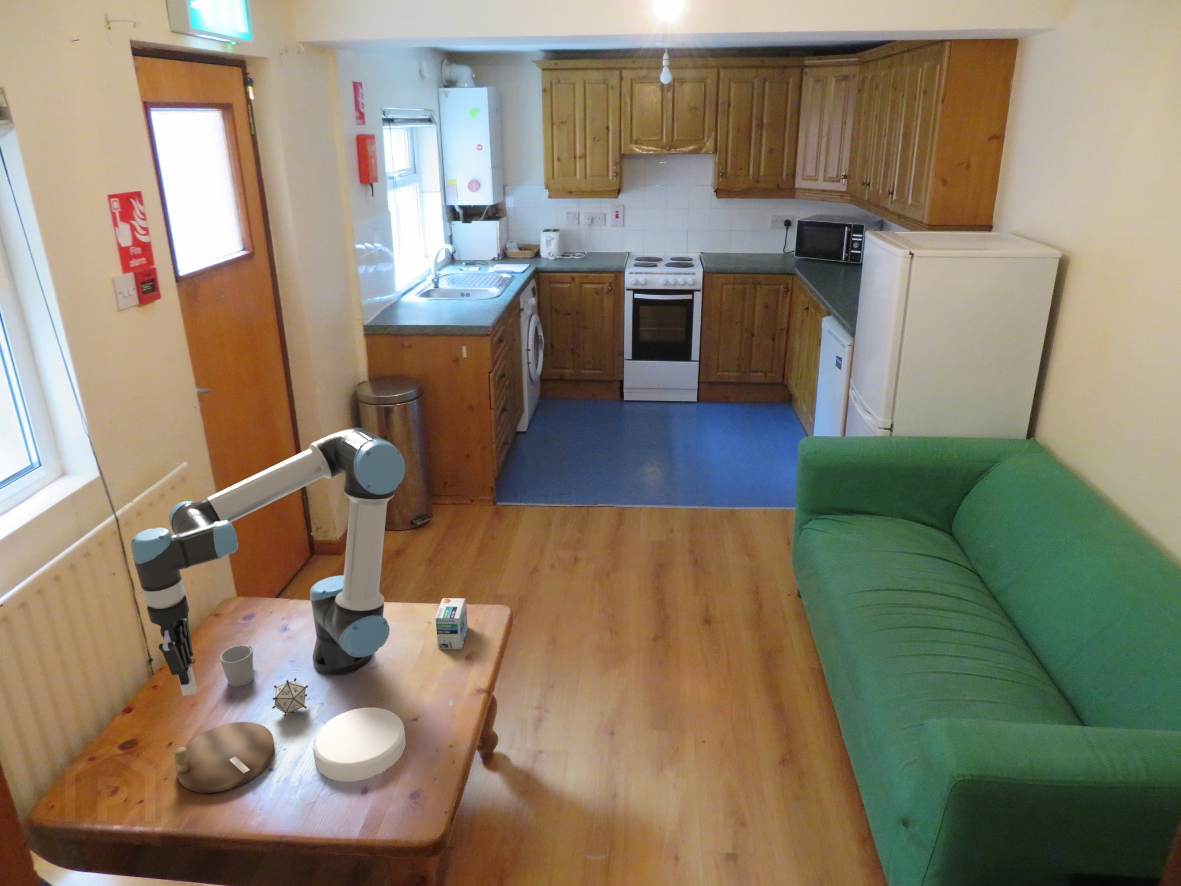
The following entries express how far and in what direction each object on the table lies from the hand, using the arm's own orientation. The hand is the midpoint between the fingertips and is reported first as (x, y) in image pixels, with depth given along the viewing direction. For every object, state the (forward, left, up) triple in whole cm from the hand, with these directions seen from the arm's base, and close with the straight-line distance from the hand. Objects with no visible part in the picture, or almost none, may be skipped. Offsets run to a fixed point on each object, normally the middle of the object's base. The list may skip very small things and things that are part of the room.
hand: (190, 692), depth 179 cm
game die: (-18, -10, -16) cm, 26 cm away
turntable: (-6, +4, -16) cm, 18 cm away
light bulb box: (-57, -33, -17) cm, 68 cm away
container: (-35, +6, -17) cm, 39 cm away
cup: (-3, -27, -17) cm, 32 cm away
